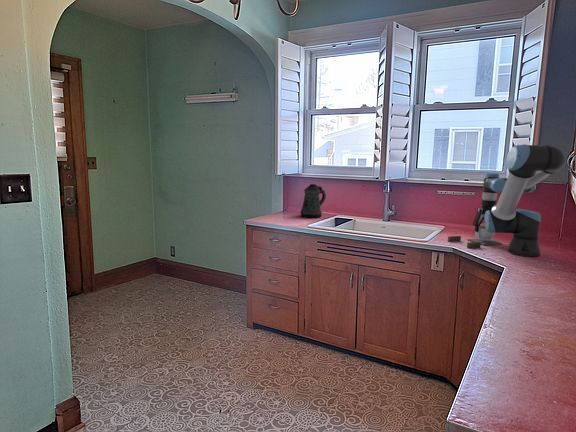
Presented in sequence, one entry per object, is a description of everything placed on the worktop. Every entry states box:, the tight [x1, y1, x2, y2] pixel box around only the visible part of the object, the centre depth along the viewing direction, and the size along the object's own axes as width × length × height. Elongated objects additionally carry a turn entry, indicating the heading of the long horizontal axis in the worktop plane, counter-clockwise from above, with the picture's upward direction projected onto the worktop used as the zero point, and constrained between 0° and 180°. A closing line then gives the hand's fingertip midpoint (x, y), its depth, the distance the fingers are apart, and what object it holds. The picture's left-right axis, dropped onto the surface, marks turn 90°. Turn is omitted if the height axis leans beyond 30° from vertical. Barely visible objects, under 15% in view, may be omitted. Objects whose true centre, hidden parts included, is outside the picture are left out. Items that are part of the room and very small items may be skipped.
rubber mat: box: [467, 237, 503, 247], centre depth 235 cm, size 13×13×1 cm
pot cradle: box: [447, 235, 482, 250], centre depth 229 cm, size 17×8×3 cm, turn 18°
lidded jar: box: [480, 223, 496, 240], centre depth 234 cm, size 11×11×9 cm
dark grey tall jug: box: [300, 183, 327, 219], centre depth 308 cm, size 16×19×25 cm
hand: (484, 236), depth 235 cm, fingers closed on lidded jar, 11 cm apart
